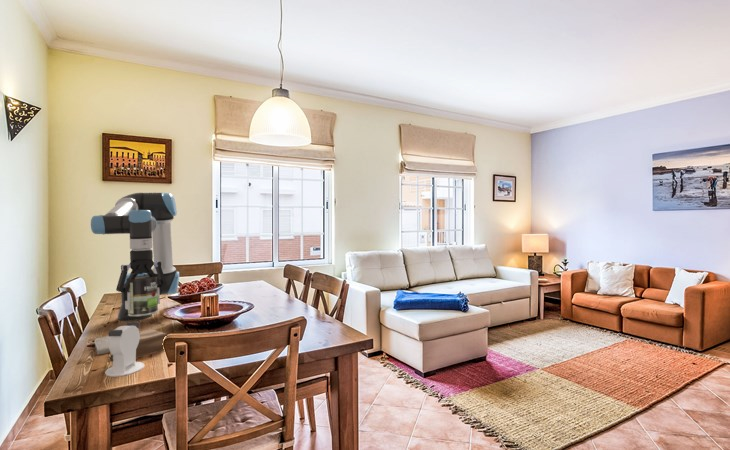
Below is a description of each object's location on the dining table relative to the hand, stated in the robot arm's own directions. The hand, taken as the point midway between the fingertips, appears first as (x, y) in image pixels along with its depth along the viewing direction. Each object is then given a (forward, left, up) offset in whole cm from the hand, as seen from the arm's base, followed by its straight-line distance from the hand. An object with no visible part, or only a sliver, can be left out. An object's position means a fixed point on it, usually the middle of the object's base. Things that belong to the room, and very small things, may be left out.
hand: (143, 306), depth 146 cm
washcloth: (-16, -5, -18) cm, 25 cm away
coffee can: (0, 0, -3) cm, 3 cm away
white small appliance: (+14, -12, -18) cm, 25 cm away
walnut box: (0, 0, -18) cm, 18 cm away
